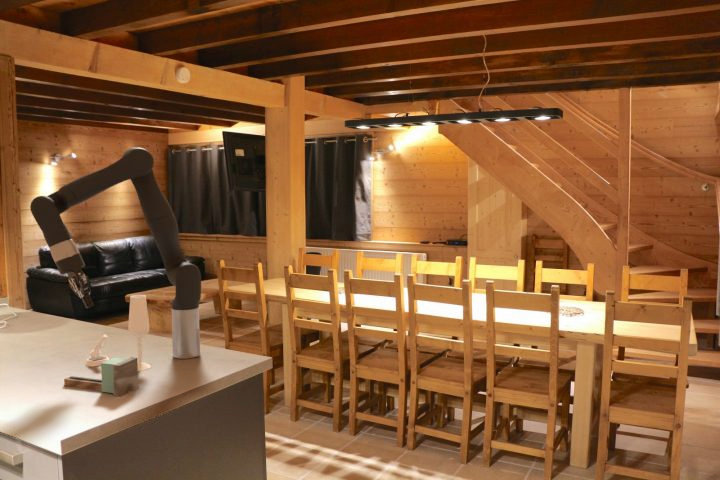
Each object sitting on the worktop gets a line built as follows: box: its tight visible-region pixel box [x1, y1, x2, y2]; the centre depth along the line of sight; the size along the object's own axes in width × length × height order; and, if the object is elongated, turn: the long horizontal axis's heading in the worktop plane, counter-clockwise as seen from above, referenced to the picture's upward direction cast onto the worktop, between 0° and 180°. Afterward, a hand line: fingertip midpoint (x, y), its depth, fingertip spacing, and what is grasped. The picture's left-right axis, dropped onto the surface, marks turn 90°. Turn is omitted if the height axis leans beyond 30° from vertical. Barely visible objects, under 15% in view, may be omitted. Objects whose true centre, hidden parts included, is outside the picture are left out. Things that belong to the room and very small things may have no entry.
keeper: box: [100, 357, 127, 394], centre depth 172 cm, size 5×6×8 cm
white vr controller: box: [84, 334, 110, 367], centre depth 198 cm, size 8×12×7 cm
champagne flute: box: [127, 294, 152, 372], centre depth 192 cm, size 7×7×24 cm
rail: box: [64, 356, 139, 397], centre depth 173 cm, size 22×8×9 cm, turn 73°
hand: (90, 307), depth 184 cm, fingers closed
